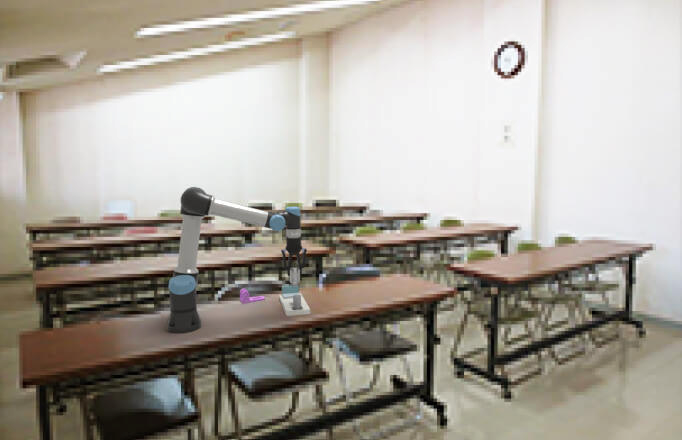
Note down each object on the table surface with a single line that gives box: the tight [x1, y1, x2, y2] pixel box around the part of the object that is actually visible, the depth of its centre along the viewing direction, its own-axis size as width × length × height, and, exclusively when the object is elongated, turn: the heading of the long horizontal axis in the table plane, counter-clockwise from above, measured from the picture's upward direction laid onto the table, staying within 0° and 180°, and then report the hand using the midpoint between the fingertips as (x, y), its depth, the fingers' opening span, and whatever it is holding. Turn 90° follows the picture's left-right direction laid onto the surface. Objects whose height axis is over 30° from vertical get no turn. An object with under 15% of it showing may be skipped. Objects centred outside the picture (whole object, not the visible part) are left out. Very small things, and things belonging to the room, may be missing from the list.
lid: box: [281, 285, 300, 299], centre depth 258 cm, size 9×7×5 cm
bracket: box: [239, 288, 266, 305], centre depth 259 cm, size 13×6×7 cm, turn 116°
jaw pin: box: [290, 267, 299, 286], centre depth 243 cm, size 4×4×9 cm
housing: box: [278, 292, 311, 317], centre depth 249 cm, size 12×30×9 cm, turn 14°
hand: (294, 281), depth 244 cm, fingers closed on jaw pin, 3 cm apart
